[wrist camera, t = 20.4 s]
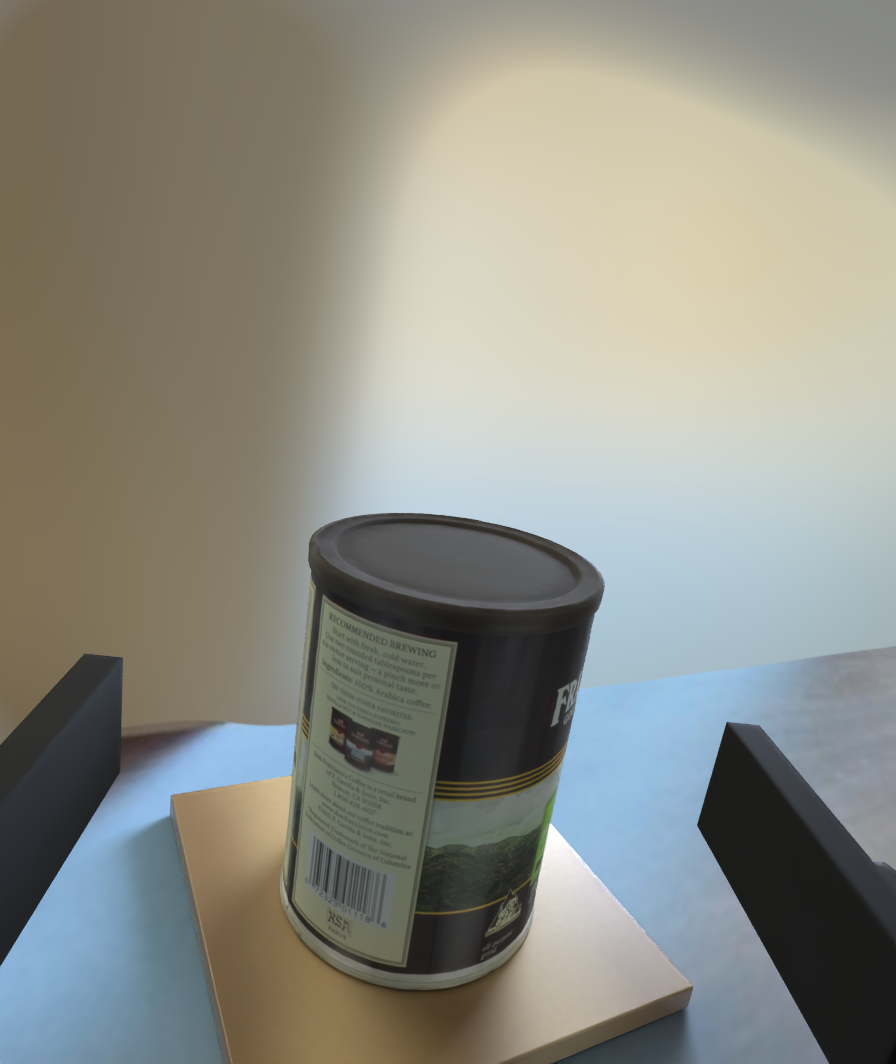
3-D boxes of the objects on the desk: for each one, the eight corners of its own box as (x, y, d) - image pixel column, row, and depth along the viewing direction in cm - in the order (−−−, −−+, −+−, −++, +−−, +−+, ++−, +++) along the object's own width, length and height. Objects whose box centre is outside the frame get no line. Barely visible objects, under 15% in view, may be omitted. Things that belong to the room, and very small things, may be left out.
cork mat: (249, 1191, 20) (252, 1164, 20) (169, 813, 33) (170, 794, 33) (688, 1007, 27) (694, 986, 27) (478, 759, 41) (481, 743, 41)
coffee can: (527, 819, 35) (586, 533, 31) (541, 1016, 25) (630, 634, 21) (311, 784, 35) (342, 496, 31) (240, 966, 25) (271, 578, 21)
